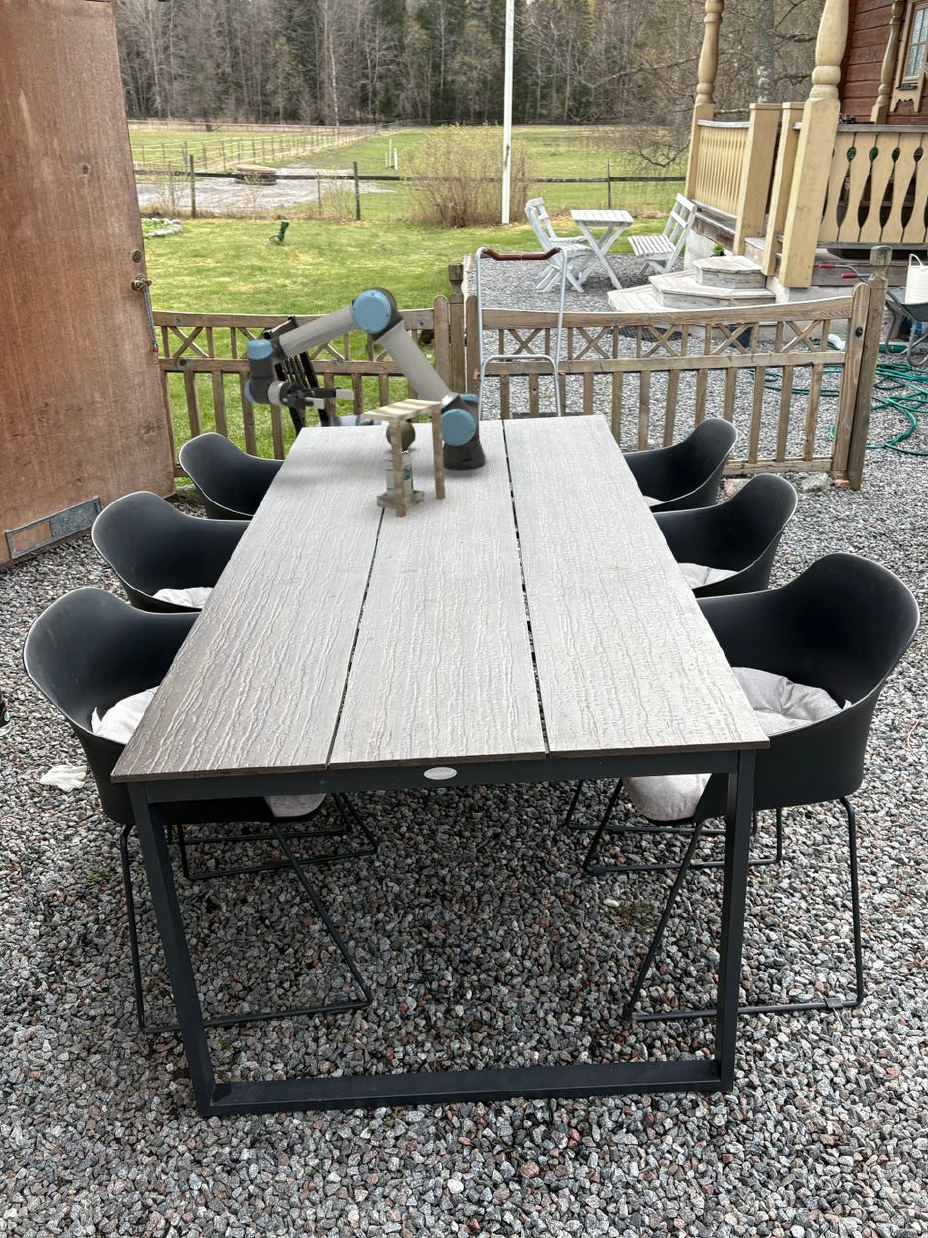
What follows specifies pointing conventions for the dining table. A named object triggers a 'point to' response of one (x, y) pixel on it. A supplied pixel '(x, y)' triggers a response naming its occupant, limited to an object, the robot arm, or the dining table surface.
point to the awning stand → (394, 416)
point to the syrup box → (406, 471)
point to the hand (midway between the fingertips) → (338, 399)
